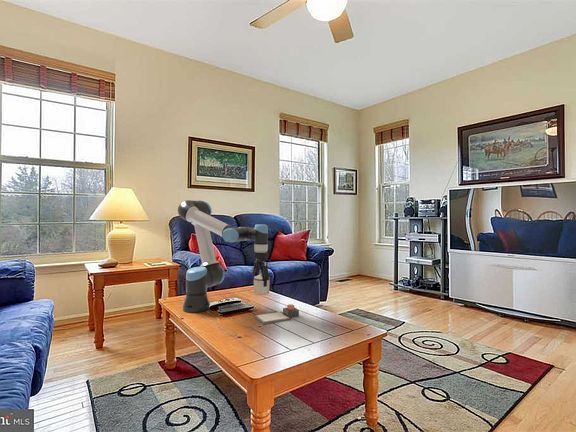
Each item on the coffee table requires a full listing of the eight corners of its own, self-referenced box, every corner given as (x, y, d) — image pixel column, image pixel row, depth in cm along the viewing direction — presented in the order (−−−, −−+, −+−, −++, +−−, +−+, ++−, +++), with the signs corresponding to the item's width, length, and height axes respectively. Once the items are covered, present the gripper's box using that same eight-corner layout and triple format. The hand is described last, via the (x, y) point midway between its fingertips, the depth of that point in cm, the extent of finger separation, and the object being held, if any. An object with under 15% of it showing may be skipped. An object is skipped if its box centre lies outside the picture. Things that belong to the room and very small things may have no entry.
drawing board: (254, 316, 172) (254, 315, 172) (280, 312, 179) (280, 311, 179) (263, 324, 160) (263, 322, 160) (290, 319, 167) (290, 318, 167)
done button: (286, 310, 175) (286, 304, 175) (292, 309, 177) (292, 304, 177) (289, 312, 172) (289, 306, 172) (295, 311, 174) (295, 305, 174)
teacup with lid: (272, 293, 182) (273, 273, 181) (260, 296, 175) (260, 275, 175) (260, 289, 190) (260, 269, 190) (247, 291, 184) (247, 271, 184)
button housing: (282, 314, 176) (282, 308, 176) (293, 313, 179) (293, 306, 179) (288, 318, 170) (288, 311, 170) (298, 316, 173) (298, 309, 173)
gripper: (275, 254, 173) (274, 294, 174) (259, 248, 195) (258, 284, 195) (262, 254, 170) (262, 295, 170) (247, 249, 192) (246, 285, 192)
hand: (260, 289), depth 183 cm, fingers closed on teacup with lid, 12 cm apart
